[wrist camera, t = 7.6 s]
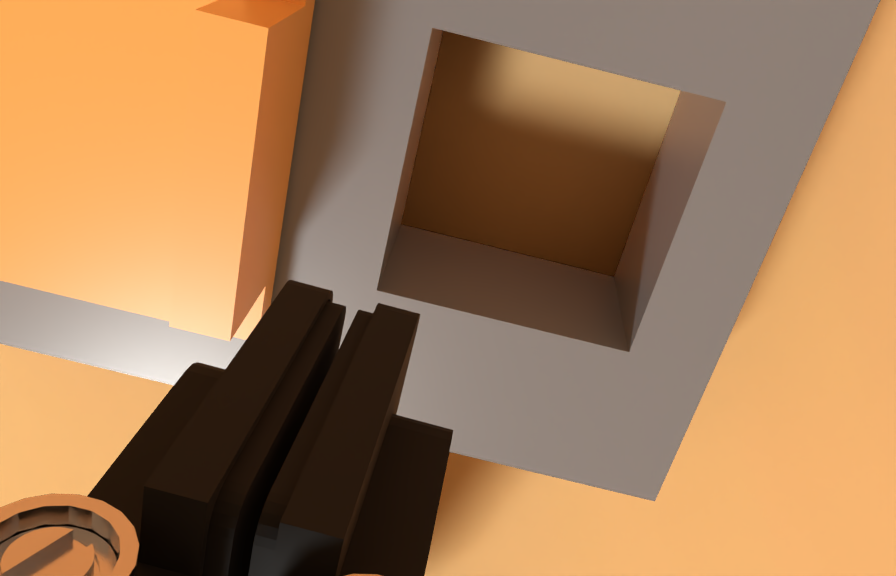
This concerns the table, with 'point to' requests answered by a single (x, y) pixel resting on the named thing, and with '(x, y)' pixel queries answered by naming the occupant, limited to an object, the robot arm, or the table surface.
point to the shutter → (150, 152)
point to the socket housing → (517, 275)
